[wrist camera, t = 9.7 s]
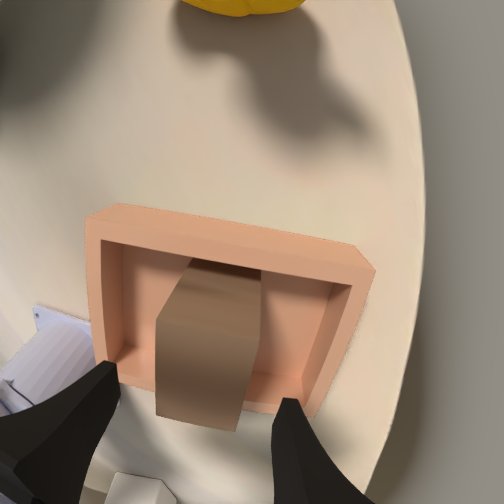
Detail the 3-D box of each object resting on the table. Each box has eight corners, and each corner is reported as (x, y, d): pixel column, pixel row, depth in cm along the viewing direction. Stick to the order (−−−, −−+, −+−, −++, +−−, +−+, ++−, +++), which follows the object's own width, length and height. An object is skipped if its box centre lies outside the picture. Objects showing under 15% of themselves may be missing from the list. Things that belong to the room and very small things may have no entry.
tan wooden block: (243, 350, 20) (235, 431, 13) (184, 338, 19) (156, 415, 13) (261, 269, 18) (259, 340, 11) (193, 256, 17) (155, 319, 11)
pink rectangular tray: (308, 379, 22) (314, 417, 18) (118, 343, 21) (98, 375, 17) (354, 245, 18) (375, 270, 14) (118, 203, 18) (85, 217, 14)
